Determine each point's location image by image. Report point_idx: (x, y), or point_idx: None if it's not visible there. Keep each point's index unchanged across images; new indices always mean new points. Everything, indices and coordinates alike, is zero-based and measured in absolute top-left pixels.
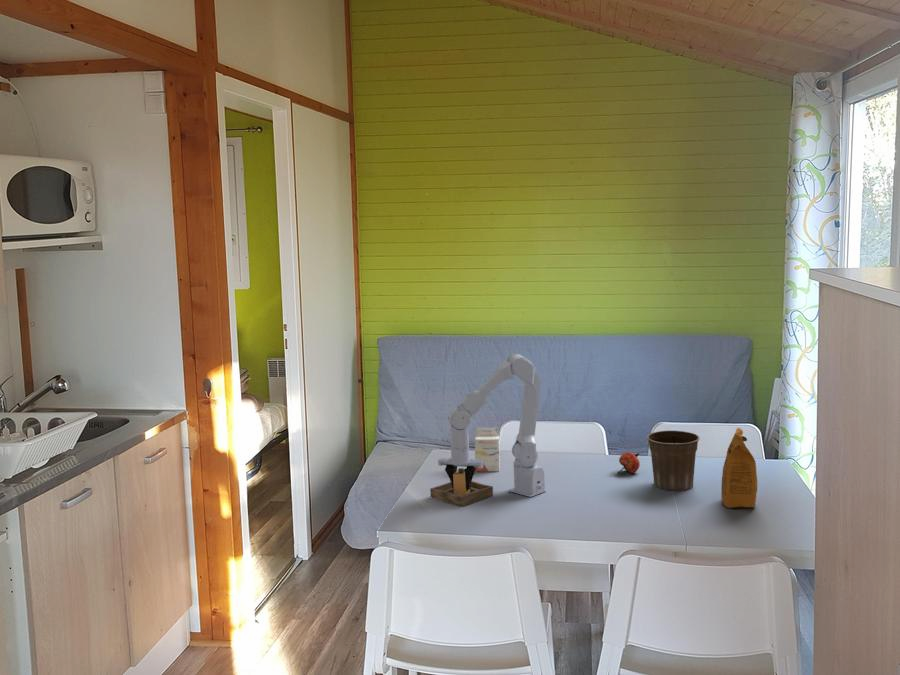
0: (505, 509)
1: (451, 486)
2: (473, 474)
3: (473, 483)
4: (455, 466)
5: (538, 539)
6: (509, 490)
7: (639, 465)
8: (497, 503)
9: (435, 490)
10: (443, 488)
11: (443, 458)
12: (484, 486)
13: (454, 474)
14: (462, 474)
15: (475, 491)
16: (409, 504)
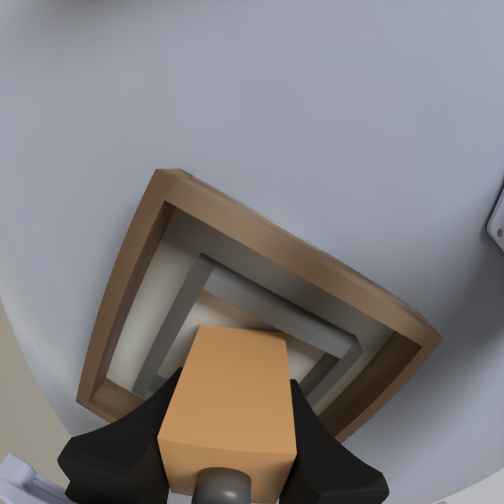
0: (438, 430)
1: (131, 290)
2: (339, 447)
3: (298, 272)
4: (144, 497)
5: (449, 497)
6: (492, 236)
7: None
8: (424, 396)
9: (110, 421)
10: (109, 346)
11: (10, 502)
12: (391, 325)
13: (183, 491)
14: (251, 500)
15: (340, 433)
16: (77, 425)
